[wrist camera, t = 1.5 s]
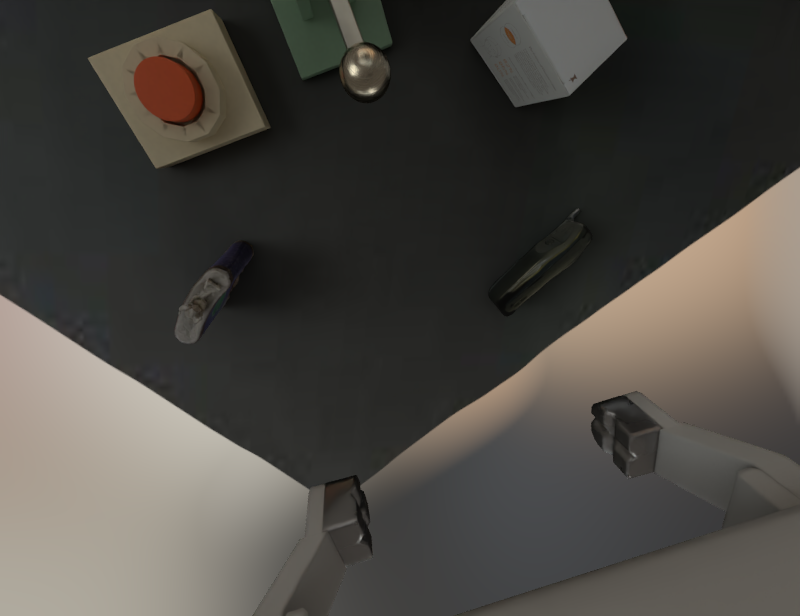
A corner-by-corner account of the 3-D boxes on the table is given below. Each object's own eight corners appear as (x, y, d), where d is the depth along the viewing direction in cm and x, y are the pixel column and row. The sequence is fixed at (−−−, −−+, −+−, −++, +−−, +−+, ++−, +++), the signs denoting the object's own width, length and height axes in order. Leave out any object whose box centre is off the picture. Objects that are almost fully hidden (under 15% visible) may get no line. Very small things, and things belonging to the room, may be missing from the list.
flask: (222, 310, 42) (185, 359, 33) (198, 298, 41) (152, 345, 32) (259, 248, 40) (230, 281, 30) (234, 233, 39) (196, 263, 29)
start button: (183, 52, 28) (173, 47, 27) (213, 111, 30) (206, 110, 29) (133, 72, 28) (120, 68, 27) (166, 129, 30) (156, 129, 29)
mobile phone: (510, 322, 43) (612, 229, 39) (495, 308, 42) (598, 211, 38) (496, 304, 47) (586, 219, 43) (481, 291, 46) (573, 203, 42)
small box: (556, 66, 36) (631, 40, 27) (513, 109, 37) (570, 98, 28) (513, -10, 33) (580, -70, 23) (467, 39, 34) (514, 1, 25)
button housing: (221, 18, 31) (202, 0, 27) (271, 127, 35) (261, 126, 31) (106, 64, 31) (71, 53, 27) (169, 167, 35) (146, 170, 31)
